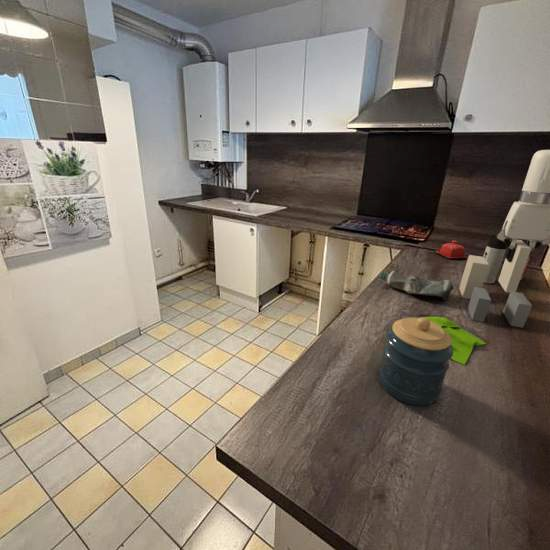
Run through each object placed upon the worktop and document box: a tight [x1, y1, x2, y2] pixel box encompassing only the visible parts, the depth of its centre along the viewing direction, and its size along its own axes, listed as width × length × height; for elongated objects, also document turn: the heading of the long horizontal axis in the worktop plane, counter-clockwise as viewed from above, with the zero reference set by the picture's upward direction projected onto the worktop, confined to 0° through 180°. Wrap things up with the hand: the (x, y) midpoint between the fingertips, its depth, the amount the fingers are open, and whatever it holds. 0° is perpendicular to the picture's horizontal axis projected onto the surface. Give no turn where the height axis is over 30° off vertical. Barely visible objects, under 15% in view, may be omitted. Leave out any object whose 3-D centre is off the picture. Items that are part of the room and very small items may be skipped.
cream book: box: [497, 239, 532, 294], centre depth 87 cm, size 2×9×14 cm, turn 156°
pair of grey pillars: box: [467, 287, 533, 329], centre depth 93 cm, size 13×9×8 cm
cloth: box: [424, 316, 487, 366], centre depth 83 cm, size 20×22×2 cm
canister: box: [378, 316, 453, 406], centre depth 63 cm, size 13×13×18 cm
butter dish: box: [435, 239, 469, 260], centre depth 150 cm, size 12×12×8 cm
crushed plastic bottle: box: [380, 270, 454, 301], centre depth 110 cm, size 13×7×25 cm
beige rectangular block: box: [458, 254, 489, 300], centre depth 108 cm, size 5×9×14 cm, turn 156°
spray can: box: [482, 232, 509, 285], centre depth 119 cm, size 7×7×20 cm
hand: (515, 260), depth 87 cm, fingers closed on cream book, 2 cm apart
